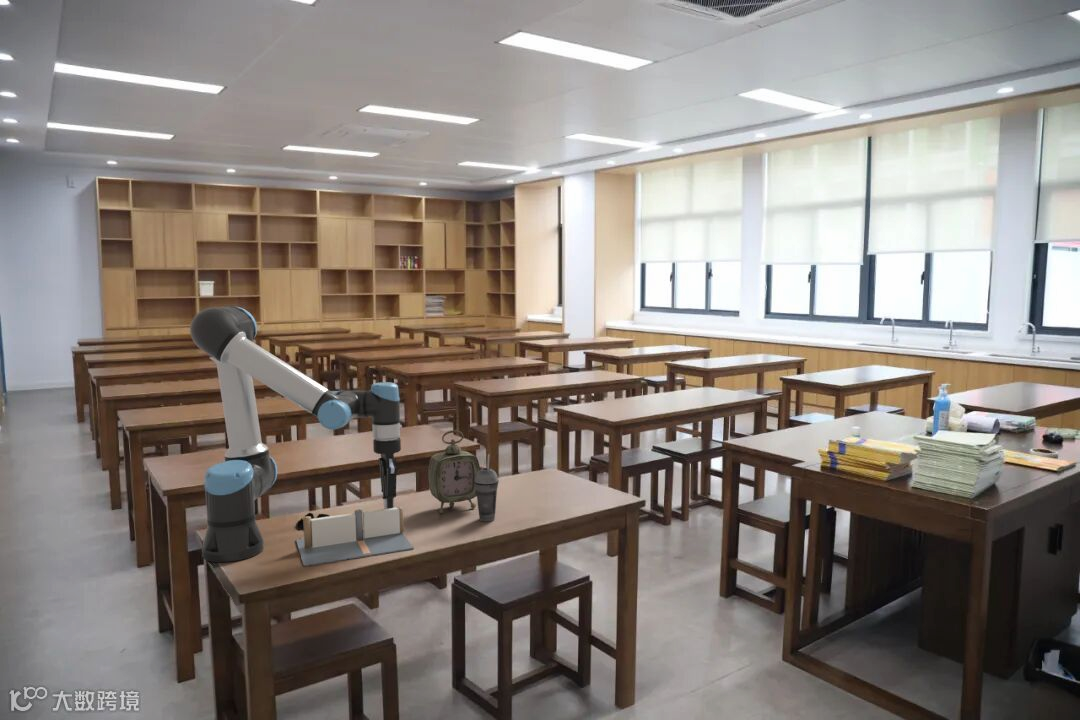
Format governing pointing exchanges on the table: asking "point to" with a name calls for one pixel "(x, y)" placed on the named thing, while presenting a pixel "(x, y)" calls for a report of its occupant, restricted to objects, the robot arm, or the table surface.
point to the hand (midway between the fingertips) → (389, 519)
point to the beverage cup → (486, 492)
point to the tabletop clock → (453, 474)
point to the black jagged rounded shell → (300, 522)
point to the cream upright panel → (383, 522)
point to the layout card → (353, 549)
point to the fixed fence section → (333, 529)
